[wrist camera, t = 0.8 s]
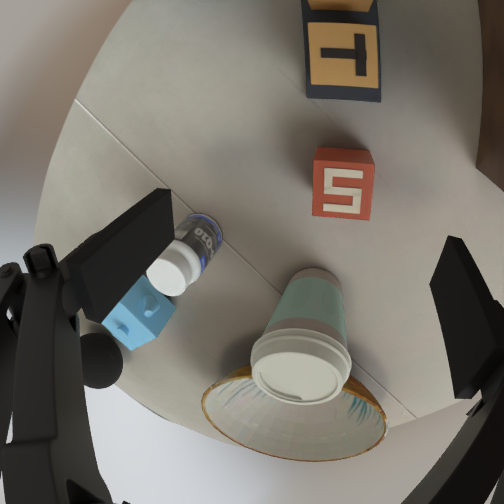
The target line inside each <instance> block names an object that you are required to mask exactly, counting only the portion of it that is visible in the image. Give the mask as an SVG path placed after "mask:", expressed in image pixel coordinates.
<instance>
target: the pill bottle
mask: <svg viewBox="0 0 504 504" xmlns="http://www.w3.org/2000/svg"><path fill="white" fill-rule="evenodd" d="M174 233H175V239H174V240H173V242H172V243H171V244H170V245H169V246H168V247H167V248H166V249H165V250H164V251H163V252H162V254H161V255H160V256H159V257H158V258H157V259H156V260H155V261H154V262H153V264H152V265H151V266H150V267H149V268H148V269H147V270H146V274H147V277H148V279H149V281H150V283H151V284H152V285H153V286H154V287H155V288H156V289H157V290H158V291H159V292H161V293H163V294H165V295H168V296H178V295H180V294H182V293H183V292H184V291H185V289H186V288H187V287H188V286H189V284H191V283H193V282H195V281H196V280H197V279H198V278H199V276H200V275H201V273H202V272H203V270H204V269H205V267H206V266H207V265H208V263H209V262H210V260H211V259H212V257H213V256H214V254H215V253H216V251H217V250H218V249H219V247H220V245H221V243H222V232H221V230H220V227H219V226H218V224H217V223H216V221H214V220H213V219H212V218H210V217H209V216H207V215H204V214H193V215H190V216H188V217H187V218H186V219H185V220H184V221H183V222H181V224H180V225H179V226H178V227H177V228H176V229H175V230H174Z"/></svg>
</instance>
